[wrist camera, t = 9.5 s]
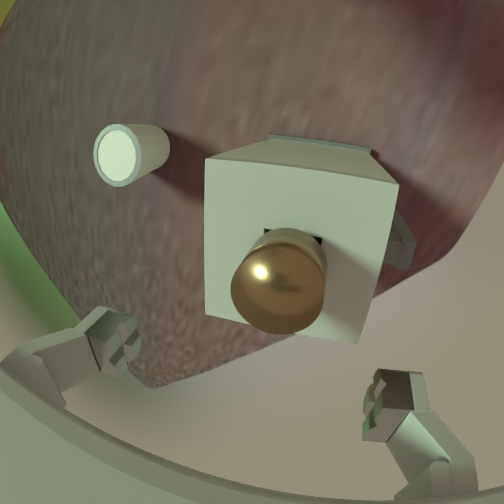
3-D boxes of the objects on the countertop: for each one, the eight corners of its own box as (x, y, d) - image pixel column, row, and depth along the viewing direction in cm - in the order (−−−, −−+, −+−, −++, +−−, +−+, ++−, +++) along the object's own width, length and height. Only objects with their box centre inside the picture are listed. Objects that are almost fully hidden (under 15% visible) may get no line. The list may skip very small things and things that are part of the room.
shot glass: (121, 141, 35) (84, 149, 29) (156, 109, 32) (120, 110, 26) (146, 184, 37) (112, 198, 31) (184, 154, 34) (152, 164, 28)
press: (263, 225, 35) (199, 317, 19) (270, 134, 30) (198, 150, 15) (374, 244, 32) (395, 354, 17) (391, 151, 28) (450, 188, 12)
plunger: (276, 218, 33) (199, 340, 15) (282, 151, 29) (194, 202, 12) (343, 229, 31) (340, 370, 14) (353, 161, 28) (380, 231, 10)
